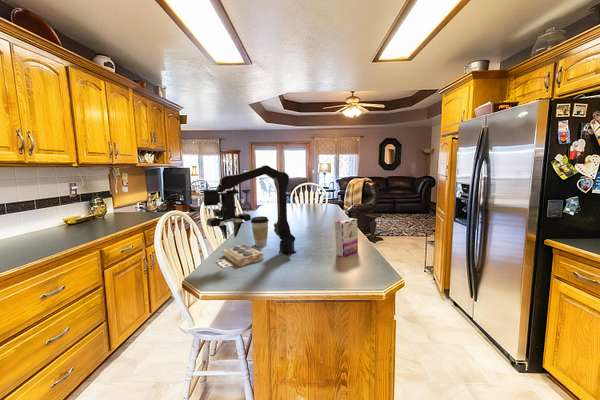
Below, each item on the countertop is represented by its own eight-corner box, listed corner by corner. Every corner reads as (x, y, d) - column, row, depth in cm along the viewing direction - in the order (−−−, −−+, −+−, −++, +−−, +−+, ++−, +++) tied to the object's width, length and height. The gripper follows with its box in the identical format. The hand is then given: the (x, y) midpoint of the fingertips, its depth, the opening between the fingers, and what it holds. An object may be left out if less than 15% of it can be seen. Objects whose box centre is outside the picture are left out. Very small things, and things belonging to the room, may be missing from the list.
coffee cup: (255, 242, 154) (253, 216, 152) (271, 242, 153) (270, 216, 151) (249, 247, 145) (247, 219, 143) (267, 247, 143) (266, 219, 141)
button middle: (244, 252, 131) (243, 247, 130) (246, 253, 128) (246, 248, 128) (238, 253, 129) (237, 248, 128) (241, 255, 126) (240, 249, 126)
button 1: (239, 249, 135) (238, 244, 135) (241, 250, 133) (241, 246, 132) (233, 250, 133) (233, 245, 133) (236, 252, 131) (235, 247, 130)
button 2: (249, 254, 126) (249, 249, 126) (252, 256, 124) (252, 251, 124) (243, 256, 124) (243, 251, 124) (246, 258, 122) (246, 252, 122)
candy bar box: (350, 249, 135) (349, 217, 133) (358, 252, 132) (358, 218, 129) (335, 255, 128) (334, 221, 126) (343, 257, 124) (342, 222, 122)
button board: (245, 250, 139) (245, 244, 139) (263, 259, 125) (263, 253, 125) (223, 255, 132) (222, 250, 132) (239, 266, 118) (238, 259, 118)
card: (224, 259, 127) (224, 258, 127) (233, 265, 119) (233, 264, 119) (215, 262, 124) (214, 260, 124) (223, 268, 116) (223, 267, 116)
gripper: (239, 200, 132) (241, 231, 134) (201, 204, 121) (204, 238, 123) (250, 202, 124) (252, 235, 126) (210, 207, 112) (212, 243, 114)
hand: (230, 238), depth 122 cm, fingers open, 4 cm apart
